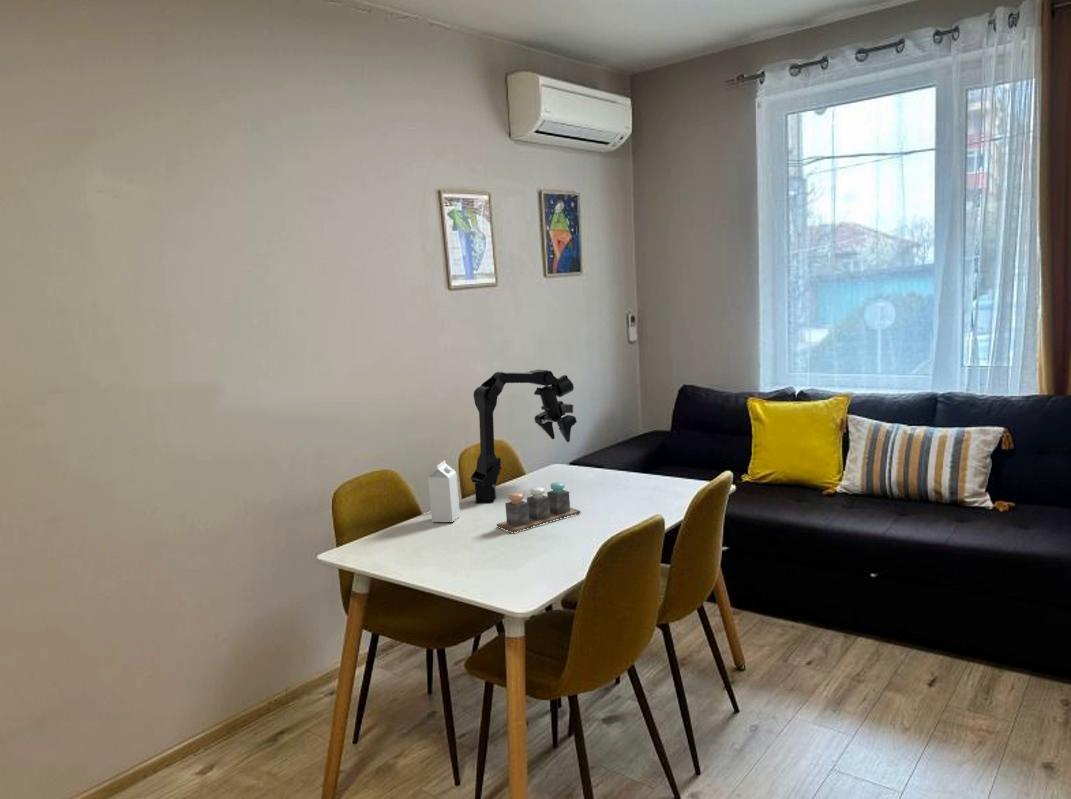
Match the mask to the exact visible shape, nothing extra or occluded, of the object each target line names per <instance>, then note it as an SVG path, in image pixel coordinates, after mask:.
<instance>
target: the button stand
mask: <svg viewBox="0 0 1071 799" xmlns="http://www.w3.org/2000/svg"><path fill="white" fill-rule="evenodd" d="M546 495H547V496H546ZM546 495H544V494H543V498H540V499H534V498H533V495H530V496H528V497H526V501H523V500H521V504H517V505H514V504H512V503H511V501H508V502H505V516H506V521H502V522H498V523H496V527H497V526H498V527H500V528H503V529H505V530H508V531H511V532H513V533H514V532H517V531H520V530H523V529H527V528H531V527H533V526H537V525H540V524H543V523H546V522H550V521H553V520H556V519H560V518H564V517H567V516H571V515H575V514H578V515H580V514H581V510H579V509H575V508H573V507H571V500H570V491H568V490H566V489H563V492H562V493H558V494H556V493H553V490H550V491H546ZM579 513H580V514H579ZM575 516H576V515H575ZM498 527H497V528H498ZM500 528H499V529H500ZM503 529H502V530H503ZM531 529H532V528H531ZM505 530H504V531H505ZM514 534H515V533H514Z"/></svg>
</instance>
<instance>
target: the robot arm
mask: <svg viewBox="0 0 1071 799" xmlns="http://www.w3.org/2000/svg"><path fill="white" fill-rule="evenodd" d="M506 384H531V385H532V384H533V385H536V386H543V387H537V388H536V389H535V390H534V395H535V396H540V400H541V403H542V406H540V408H541V410H543V411H542V412H539V413H538V414H536V415H535V416H534V422H535V424H537V426H538V427H540V428H541V429H542V431H544V432H545V433H546V434H547V435H548V437H550V439H552V440H554V439H555V431H554V427H553V424H554V422H555V423H557V426H558V430H559V431H560V434H561V435H562V437H563V438H564V440H565V441H566V443H569V442H571V431H572V430H571V429H572V427H573V426H574V425H575V424H577V423H578V421H577V418H576V416H574V415H569V414H573V413H574V404H573V403H572V404H571V403H564V401H563V400H558V398H561V397H564V396H565V395H567V394H570V393H571V392H573V391H574V388H575V386H574V384H573V382H572V380H571V379H570V378H569V377H568V375H567V374H566V375H565V374H563V375H561V376H559V377H558V378H557V377H556V376H554V373H553V372H552V370H549V369H535V370H530V371H526V372H503V371H495V372H494V373H493V374H492V375H491V377H490V378H488V379H486V380H485V381H484V382H482V383H481V385H480V386H479V387H476V389H475V390H474V391H473V400H474V403H475V404H474V405H475V407H476V409H477V411H478V417H479V421H478V422H479V443H480V453H479V456H478V458H477V462H476V468H475V470H474V472H473V473H472V474H471V476H470V480H471V482H472V483H473V484H474V491H475V501H474V503H475V504H483V503H482V502H491V503H494V502H495V500H496V499H497V489H496V488H497V487H496V485H497V481H498V477H499V475H500V474H501V470H502V467H501V464H502V463H501V462H502V459H501V457H499V456H496V453H495V433H494V432H495V430H494V428H495V427H494V412H495V409H496V406H497V404H498V396H499V395H501V393H502V391H503V390H504V386H505V385H506ZM566 414H567V415H566Z"/></svg>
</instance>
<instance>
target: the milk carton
mask: <svg viewBox="0 0 1071 799" xmlns="http://www.w3.org/2000/svg"><path fill="white" fill-rule="evenodd" d="M427 482H428V494H429V503H430V504H429V505H430V515H431V516H430V517H431V523H432V522H453V521H454V520H455V519H456V518H458V517H459V516H460V517H461V514H460V513H461V511H460V500H459V489H458V476H457V472H456V470H454V468H452V467H451V466H449V465H448V464H447V463H446V460H445V459H444V460H443V461H441V462H440V463H438V464H437V465H436V469H435V471H434V472H432V474H430V476H428V478H427ZM460 517H459V518H460ZM459 518H458V519H459ZM456 520H457V519H456ZM456 520H455V521H456ZM455 521H454V522H455ZM454 522H453V523H454Z"/></svg>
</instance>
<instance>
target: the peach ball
mask: <svg viewBox="0 0 1071 799" xmlns="http://www.w3.org/2000/svg"><path fill="white" fill-rule="evenodd" d="M523 499H524V493H523V492H512V493H509V494H508V500H509V501H510V502H511V503H512V504H514V505H517V504H521V501H522V500H523Z"/></svg>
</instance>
